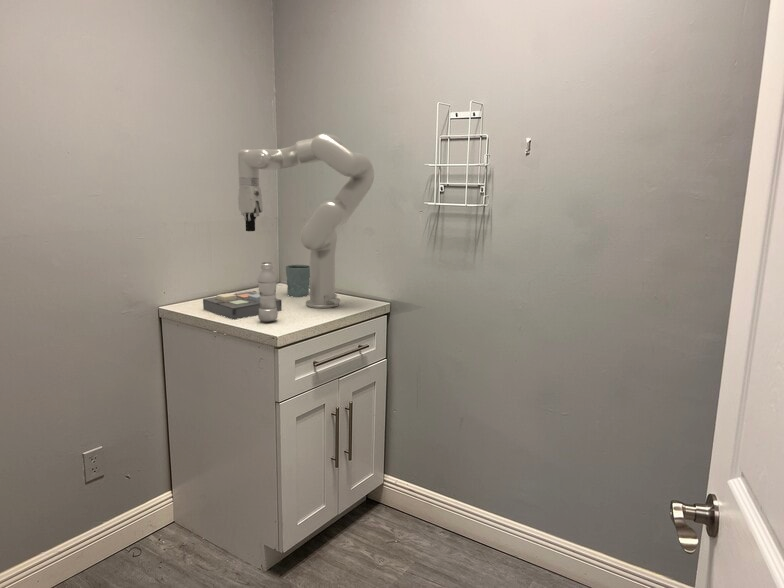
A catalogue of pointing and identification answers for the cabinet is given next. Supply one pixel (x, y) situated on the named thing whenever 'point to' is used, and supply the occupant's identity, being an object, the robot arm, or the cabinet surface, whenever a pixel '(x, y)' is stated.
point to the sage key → (238, 302)
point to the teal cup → (298, 280)
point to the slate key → (254, 297)
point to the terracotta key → (243, 296)
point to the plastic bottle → (267, 293)
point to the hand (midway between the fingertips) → (250, 230)
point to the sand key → (226, 297)
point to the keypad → (235, 307)
